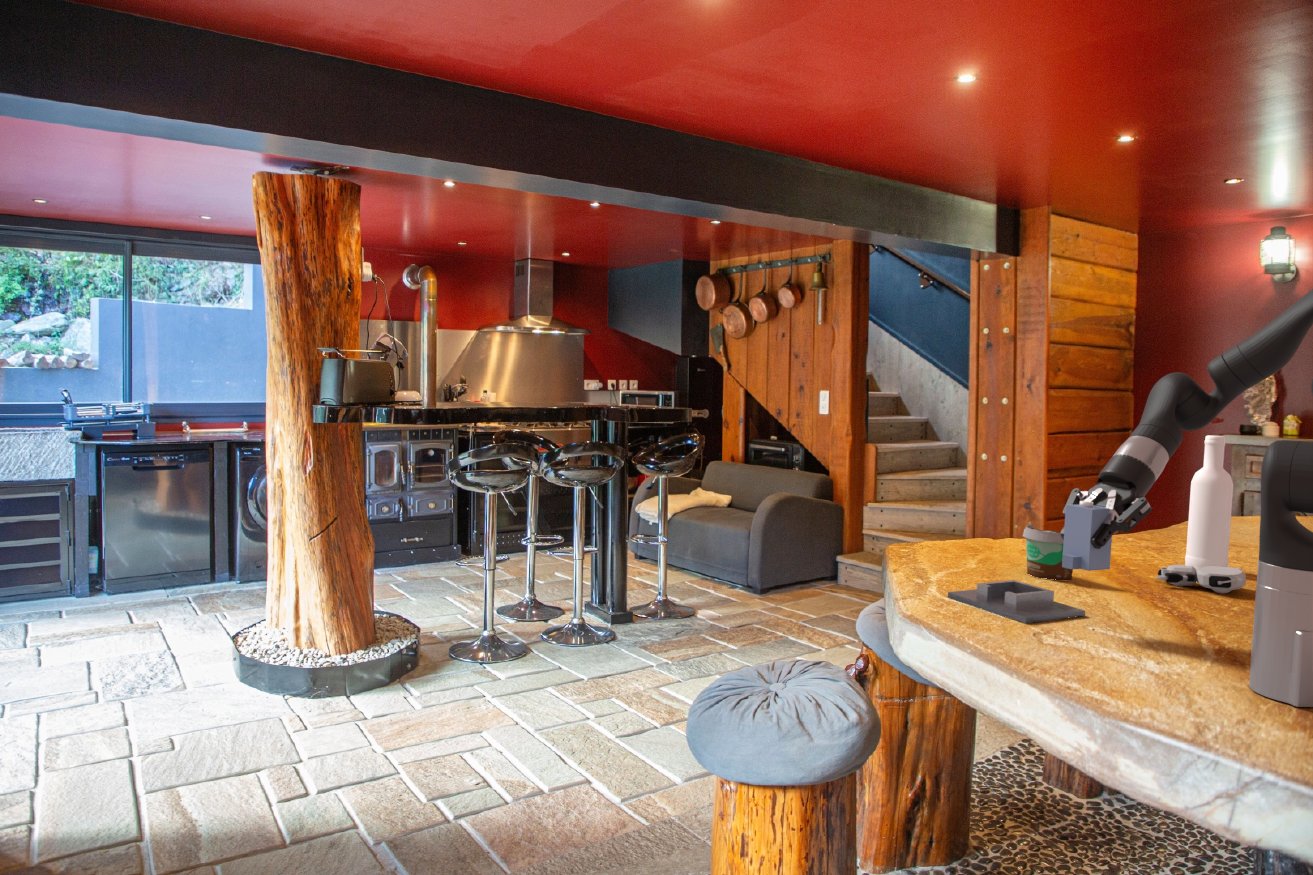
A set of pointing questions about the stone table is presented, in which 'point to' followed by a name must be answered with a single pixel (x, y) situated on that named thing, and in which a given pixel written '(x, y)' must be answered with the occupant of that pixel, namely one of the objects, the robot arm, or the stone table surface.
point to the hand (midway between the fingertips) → (1079, 541)
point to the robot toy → (1204, 577)
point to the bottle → (1210, 509)
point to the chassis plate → (1016, 601)
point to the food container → (1045, 554)
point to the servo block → (1084, 537)
